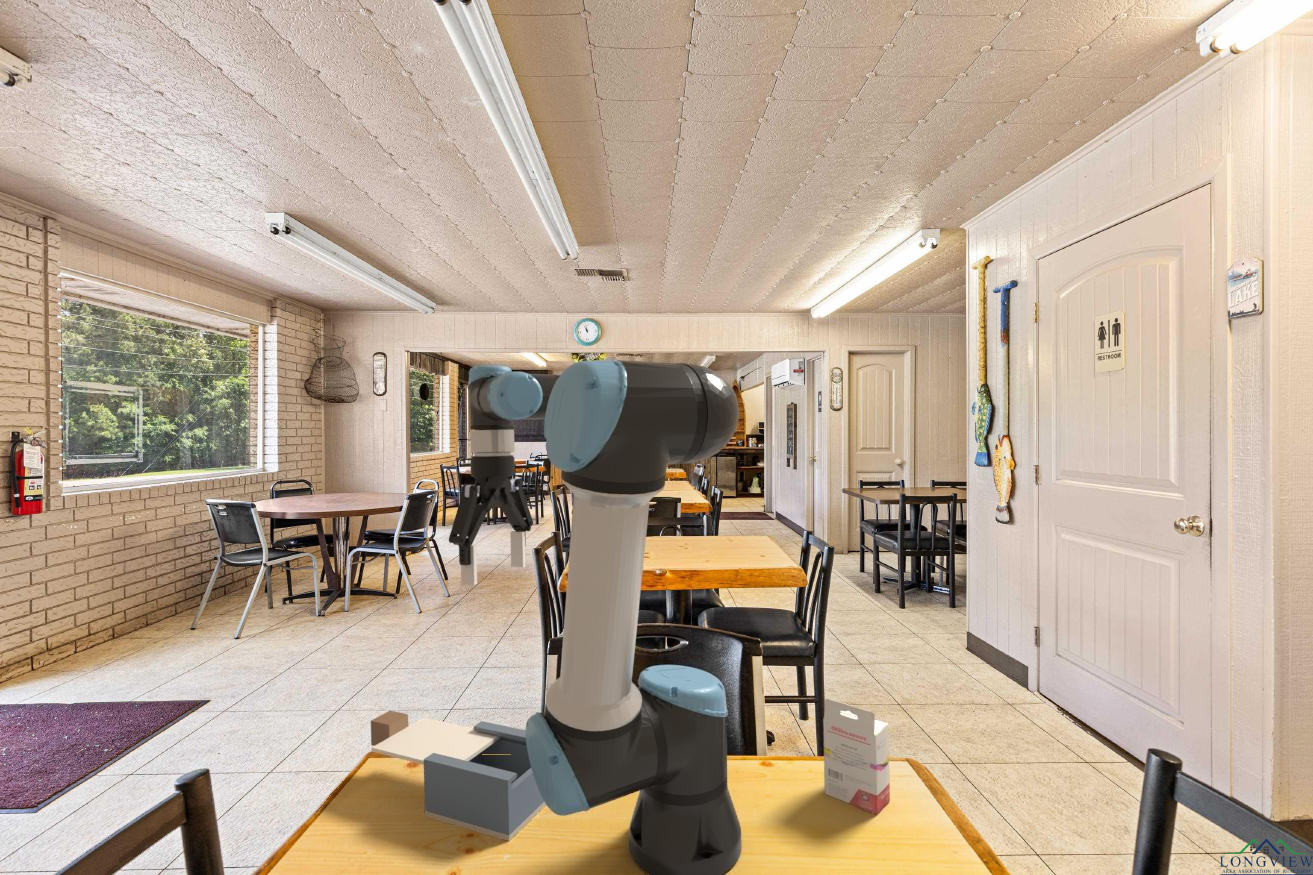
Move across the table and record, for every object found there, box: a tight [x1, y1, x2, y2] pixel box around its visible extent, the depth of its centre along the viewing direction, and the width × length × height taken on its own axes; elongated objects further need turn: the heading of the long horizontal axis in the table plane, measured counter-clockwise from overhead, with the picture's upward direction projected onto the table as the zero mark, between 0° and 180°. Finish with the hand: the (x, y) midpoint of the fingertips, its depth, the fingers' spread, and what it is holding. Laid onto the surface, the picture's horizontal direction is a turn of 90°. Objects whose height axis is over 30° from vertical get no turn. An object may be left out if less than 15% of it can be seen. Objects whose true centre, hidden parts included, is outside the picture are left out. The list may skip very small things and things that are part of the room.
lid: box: [370, 710, 501, 766], centre depth 102 cm, size 20×11×4 cm, turn 66°
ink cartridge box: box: [822, 697, 891, 815], centre depth 96 cm, size 9×5×15 cm, turn 47°
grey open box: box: [423, 720, 547, 842], centre depth 96 cm, size 15×13×8 cm
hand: (495, 574), depth 113 cm, fingers open, 13 cm apart
